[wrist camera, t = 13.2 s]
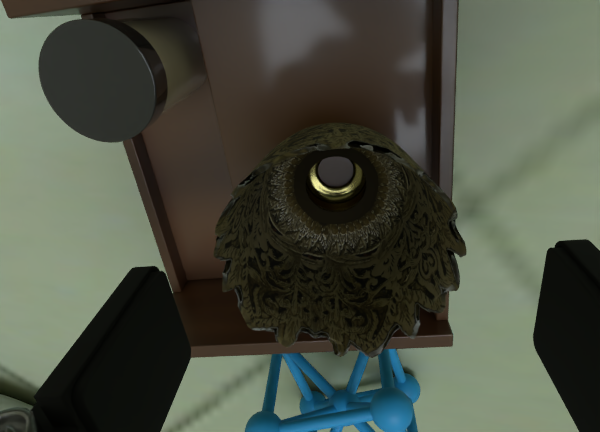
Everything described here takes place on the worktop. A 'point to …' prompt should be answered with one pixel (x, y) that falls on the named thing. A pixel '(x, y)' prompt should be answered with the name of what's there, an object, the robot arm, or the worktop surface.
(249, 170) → the spice rack
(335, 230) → the brown hollow bell-shaped piece
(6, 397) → the bowl
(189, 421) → the worktop surface
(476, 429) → the worktop surface
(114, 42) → the spice jar
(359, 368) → the molecular structure
